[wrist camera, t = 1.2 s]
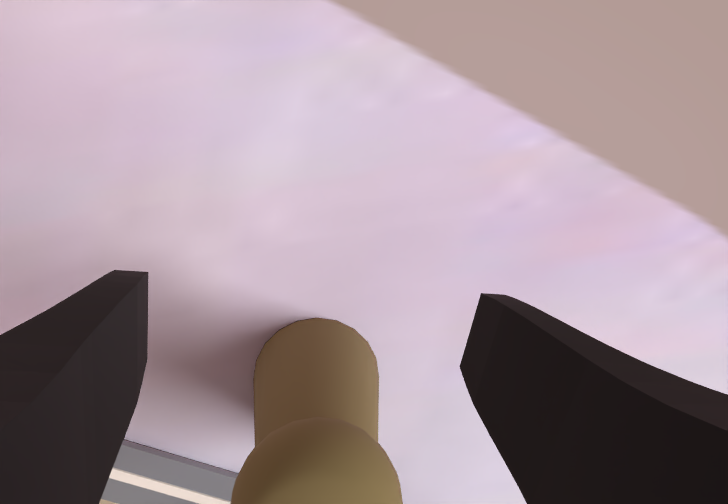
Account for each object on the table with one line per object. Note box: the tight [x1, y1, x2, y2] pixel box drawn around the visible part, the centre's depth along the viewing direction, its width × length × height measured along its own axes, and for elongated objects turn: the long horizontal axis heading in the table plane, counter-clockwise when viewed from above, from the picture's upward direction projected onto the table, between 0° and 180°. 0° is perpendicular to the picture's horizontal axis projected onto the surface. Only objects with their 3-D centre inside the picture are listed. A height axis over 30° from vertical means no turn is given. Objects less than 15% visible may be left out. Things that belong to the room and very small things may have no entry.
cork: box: [231, 318, 403, 504], centre depth 19 cm, size 6×6×11 cm
